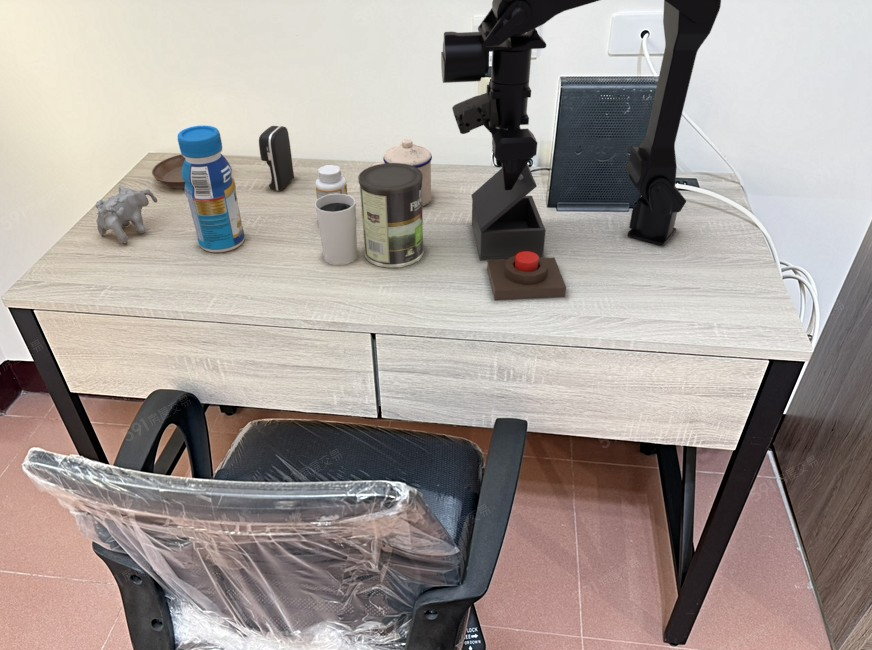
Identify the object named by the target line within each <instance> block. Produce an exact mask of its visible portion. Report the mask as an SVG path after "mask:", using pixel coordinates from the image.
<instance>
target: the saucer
mask: <svg viewBox="0 0 872 650" xmlns="http://www.w3.org/2000/svg"><path fill="white" fill-rule="evenodd" d="M184 161H185V157H183V156H182V154H181V153H180V154H177V155H173V156H171V157H168V158H166V159H164V160H161V161H160V162H158V163H157V164H156V165H154V166H153V168H152V170H151V175H152V177H154V178H155V179H156V180H157V181H158V182H159V183H161V184H163V185H165V186H167V187H168V188H169V187H170V188H172V189H178V190H179V189H180V190H183V189H184V190H185V183H186V182H185V181H184V180H183V178H182V167H183V163H184Z"/></svg>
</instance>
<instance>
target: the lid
mask: <svg viewBox="0 0 872 650" xmlns="http://www.w3.org/2000/svg"><path fill="white" fill-rule="evenodd" d="M537 187H538V185H537V183H536V181H535V178H534V176H533V173H532V170H531V169H530V166H529V164H528V163H527V165H526V166H525V168H524V169H523V171H522V173H521V174H520V176H519V178H518V180H517V181H516V183H515V185H514V187H513V188H512V190H505V188H504V180H503V172H502V167H501V168H500V169H499V170H498V171H497V172H495V173H494V174H493V175H492V176H491V177H490V178H489V179H488V180H486V181H485V182H484V183H483V184H482V185H481V186H479V188H478V189H476V190H475V191H474V192H473V193H471V199H472V200H473V204H474V208H475V212H476V216H477V220H478V224H479V228H480V230H481V231H482V232H483V231H484V230H486V229H487V228H488V227H489V226H490V225H492V224H493V223H494V222H495V221H496V220H498V219H499V218H500V217H501V216H502V215H503V214H505V213H506V212H507V211H508V210H509V209H511V208H512V207H513V206H514V205H515V204H517V203H518V202H519V201H520V200H521V199H522V198H524V197H525V196H528V195H529V194H530V193H531V192H532V191H533V190H534V189H535V188H537Z"/></svg>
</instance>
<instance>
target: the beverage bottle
mask: <svg viewBox="0 0 872 650" xmlns="http://www.w3.org/2000/svg"><path fill="white" fill-rule="evenodd" d="M221 137H222V136H221V133H220V130H219V129H218V128H216V127H215V126H213V125H194V126H189V127H186V128H184V129H182V130H180V131H179V133H178V134H177V142H178V147H179V151H180V155H181V154H182V156H183V157H185V161H184V163H183V167H182V178H183V180H184V181H185V182H186V183H185V189H184V193H185V196H186V198H187V202H188V206H189V209H190V213H191V218H192V221H193V225H194V229H195V233H196V237H197V243H198V245H199V247H200V248H201V249H202V250H204V251H206V252H210V253H226V252H229V251H233V250H235V249H237V248H238V247H240V246H241V245H242V244H243V243H244V241H245V238H246V237H245V236H246V235H245V232H244V226H243V222H242V217H241V210H240V206H239V201H238V196H237V195H238V194H237V187H236V182H235V180H234V178H233V176H232V172H233V169H232V166H231V163H230V162H229V161H228V160H227V158H226V157H225V156H224V155H223V154H222V151H223V142H222V138H221Z"/></svg>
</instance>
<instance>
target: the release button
mask: <svg viewBox="0 0 872 650" xmlns="http://www.w3.org/2000/svg"><path fill="white" fill-rule="evenodd" d="M538 262H539V256H538V255H537V254H536V253H533V252H529V251H524V252H520V253H518V254H517V255H516V258H515V268H516V269H517V270H519V271H524V272H533V271H535V270H537V268H538Z"/></svg>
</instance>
